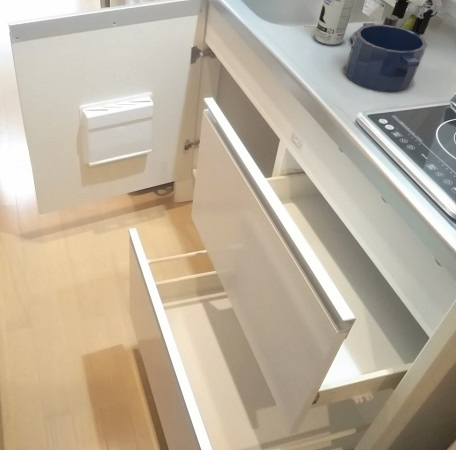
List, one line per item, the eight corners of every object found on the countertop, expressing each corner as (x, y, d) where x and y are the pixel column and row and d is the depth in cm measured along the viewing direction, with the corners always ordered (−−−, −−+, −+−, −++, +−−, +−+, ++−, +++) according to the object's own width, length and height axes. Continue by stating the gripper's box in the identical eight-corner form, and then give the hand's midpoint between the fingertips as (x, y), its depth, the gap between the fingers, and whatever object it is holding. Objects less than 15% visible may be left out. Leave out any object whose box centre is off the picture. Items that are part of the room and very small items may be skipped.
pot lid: (395, 32, 129) (405, 4, 125) (426, 58, 119) (438, 29, 114) (340, 33, 127) (348, 6, 122) (367, 60, 116) (377, 30, 112)
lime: (398, 37, 127) (405, 17, 123) (392, 29, 130) (399, 9, 127) (416, 38, 127) (424, 18, 123) (410, 31, 130) (418, 10, 127)
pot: (385, 56, 118) (398, 18, 113) (430, 97, 105) (448, 57, 99) (329, 58, 116) (340, 20, 111) (368, 100, 103) (382, 59, 97)
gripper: (473, -38, 110) (439, 40, 122) (429, -61, 122) (402, 12, 134) (441, -38, 109) (410, 41, 120) (400, -61, 121) (376, 12, 133)
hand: (406, 26), depth 127 cm, fingers open, 9 cm apart
